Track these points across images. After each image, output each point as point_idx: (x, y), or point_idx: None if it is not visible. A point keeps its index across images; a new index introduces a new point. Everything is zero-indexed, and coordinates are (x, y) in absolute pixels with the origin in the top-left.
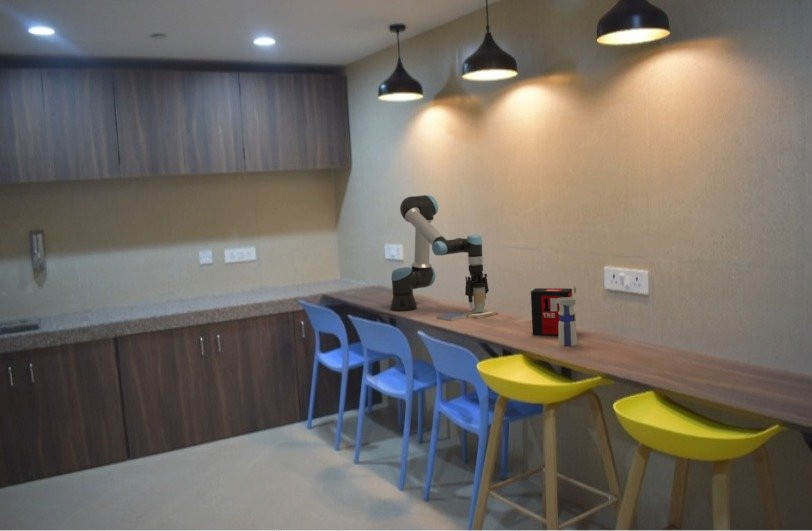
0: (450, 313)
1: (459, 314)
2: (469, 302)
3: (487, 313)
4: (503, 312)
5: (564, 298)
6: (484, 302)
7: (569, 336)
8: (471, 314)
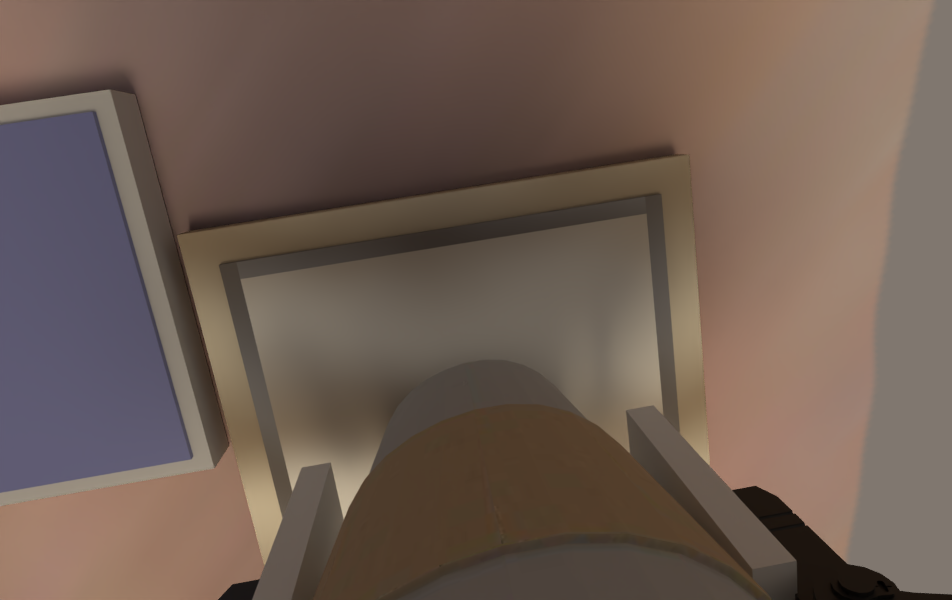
0: (3, 187)
1: (98, 401)
2: (276, 536)
3: None
4: (837, 515)
5: None
6: None
7: None
8: None
